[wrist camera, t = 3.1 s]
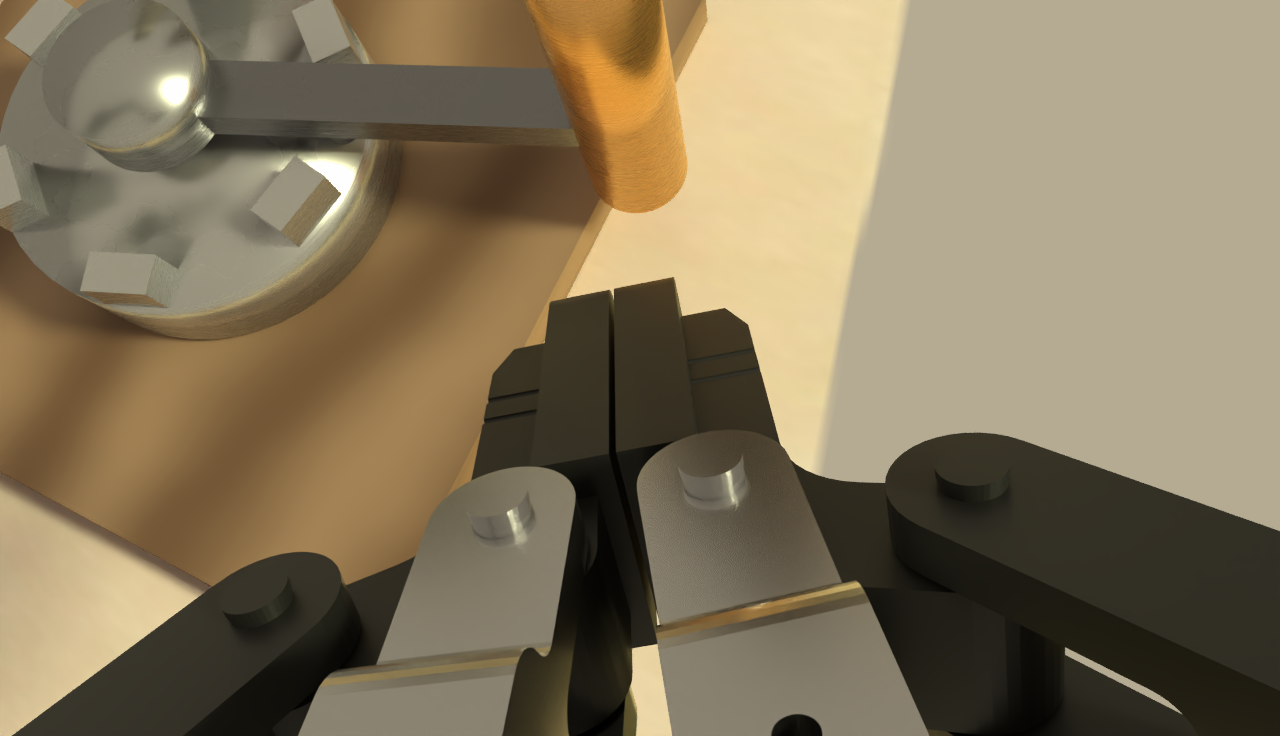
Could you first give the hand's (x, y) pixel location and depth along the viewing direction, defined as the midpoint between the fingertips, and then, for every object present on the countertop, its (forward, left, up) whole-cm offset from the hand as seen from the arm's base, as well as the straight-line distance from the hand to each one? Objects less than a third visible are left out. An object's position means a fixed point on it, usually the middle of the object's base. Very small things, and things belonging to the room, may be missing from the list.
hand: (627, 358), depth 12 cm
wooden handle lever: (-15, +6, -18) cm, 24 cm away
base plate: (-19, +4, -19) cm, 28 cm away
